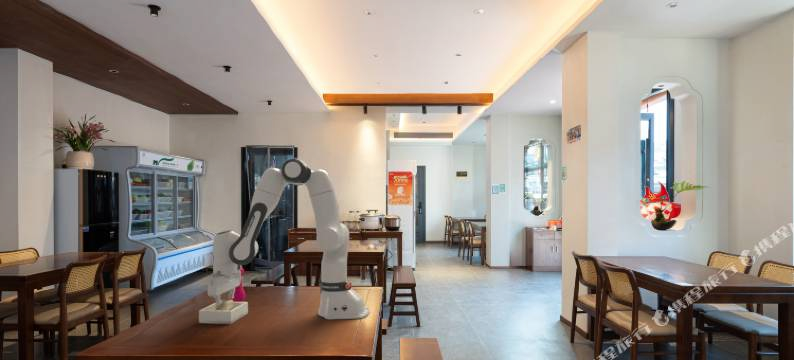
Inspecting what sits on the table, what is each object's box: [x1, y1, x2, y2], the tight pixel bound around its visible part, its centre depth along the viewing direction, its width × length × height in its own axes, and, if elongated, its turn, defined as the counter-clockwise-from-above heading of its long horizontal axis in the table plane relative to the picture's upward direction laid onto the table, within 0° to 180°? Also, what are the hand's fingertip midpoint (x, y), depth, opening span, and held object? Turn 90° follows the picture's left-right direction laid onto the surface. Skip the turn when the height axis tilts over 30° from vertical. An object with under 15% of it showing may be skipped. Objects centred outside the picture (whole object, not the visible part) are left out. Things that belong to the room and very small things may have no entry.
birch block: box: [216, 299, 233, 311], centre depth 173 cm, size 5×5×6 cm
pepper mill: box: [229, 266, 246, 302], centre depth 191 cm, size 7×7×20 cm
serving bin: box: [198, 301, 249, 325], centre depth 173 cm, size 14×14×5 cm
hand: (225, 301), depth 173 cm, fingers open, 8 cm apart
